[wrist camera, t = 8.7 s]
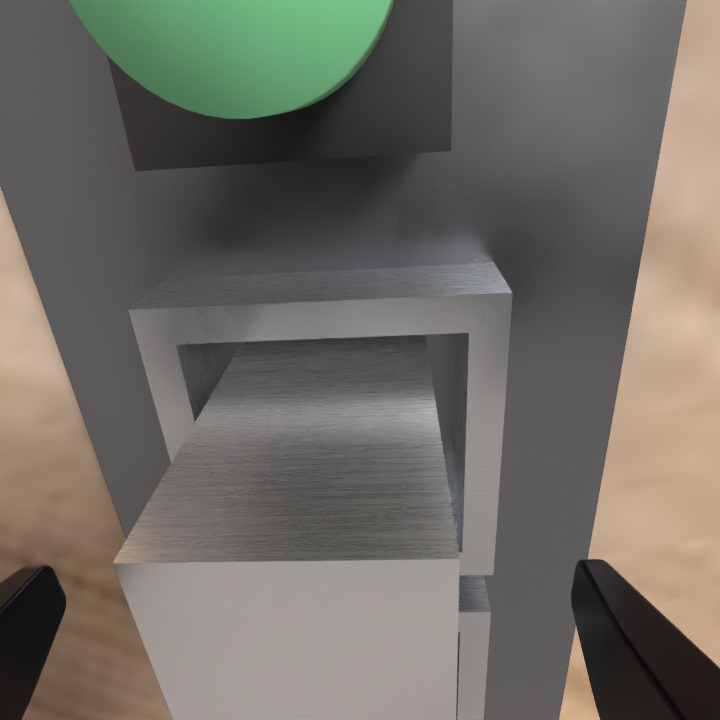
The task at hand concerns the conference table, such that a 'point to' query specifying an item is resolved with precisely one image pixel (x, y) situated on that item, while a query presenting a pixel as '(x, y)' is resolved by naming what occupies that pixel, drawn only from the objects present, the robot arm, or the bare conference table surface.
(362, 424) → the aluminium block
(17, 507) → the conference table surface
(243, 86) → the button
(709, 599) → the conference table surface
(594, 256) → the dark grey fixture board
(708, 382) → the conference table surface
